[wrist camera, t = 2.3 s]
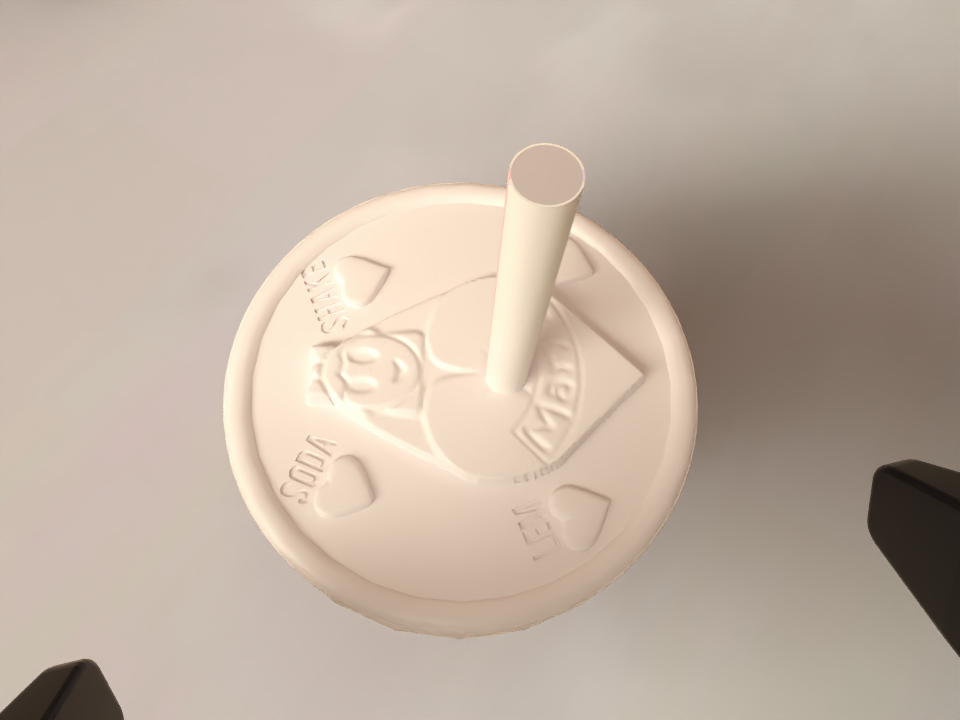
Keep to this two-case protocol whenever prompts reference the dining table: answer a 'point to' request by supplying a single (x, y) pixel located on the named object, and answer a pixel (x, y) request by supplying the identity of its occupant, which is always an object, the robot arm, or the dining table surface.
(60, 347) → the dining table surface
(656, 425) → the smoothie
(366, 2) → the dining table surface
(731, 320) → the dining table surface
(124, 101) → the dining table surface
